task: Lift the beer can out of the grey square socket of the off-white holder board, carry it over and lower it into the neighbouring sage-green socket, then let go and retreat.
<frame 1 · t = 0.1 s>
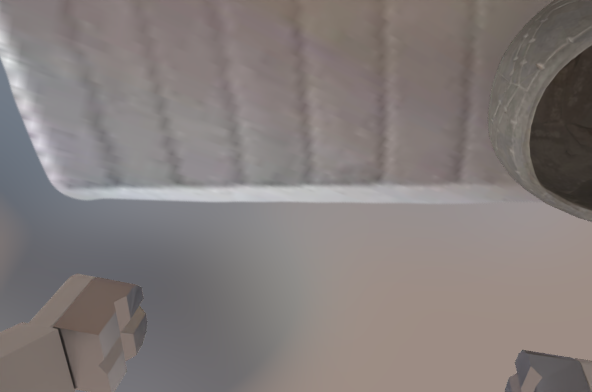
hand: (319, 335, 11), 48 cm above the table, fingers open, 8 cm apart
bowl: (584, 71, 52), on the table
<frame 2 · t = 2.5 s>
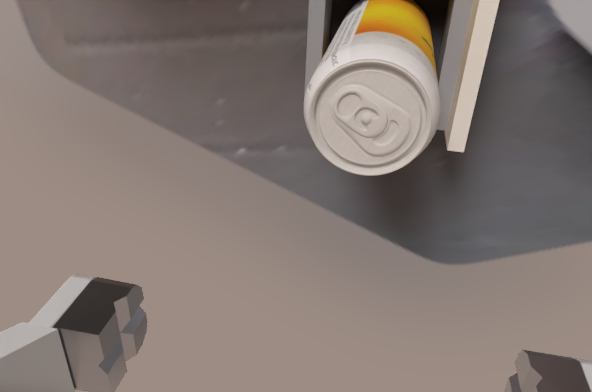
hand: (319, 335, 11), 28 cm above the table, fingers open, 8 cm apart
beer can: (384, 37, 34), resting in holder board
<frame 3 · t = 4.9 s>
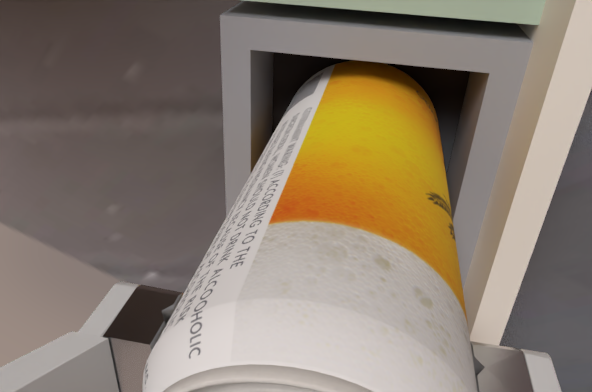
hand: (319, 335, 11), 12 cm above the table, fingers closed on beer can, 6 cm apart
beer can: (361, 126, 21), resting in holder board, touching gripper
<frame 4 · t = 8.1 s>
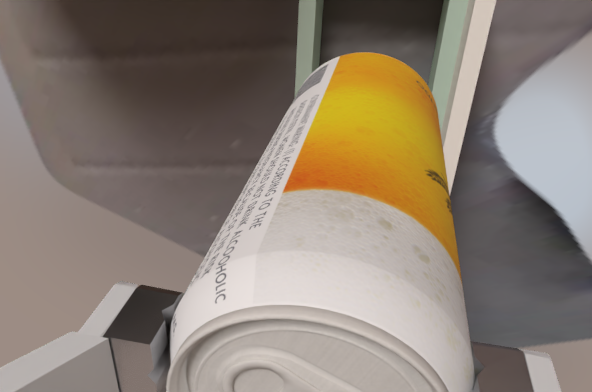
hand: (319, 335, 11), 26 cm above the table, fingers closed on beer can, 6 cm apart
holder board: (368, 114, 36), on the table
beer can: (364, 116, 22), point 13 cm above the table, touching gripper
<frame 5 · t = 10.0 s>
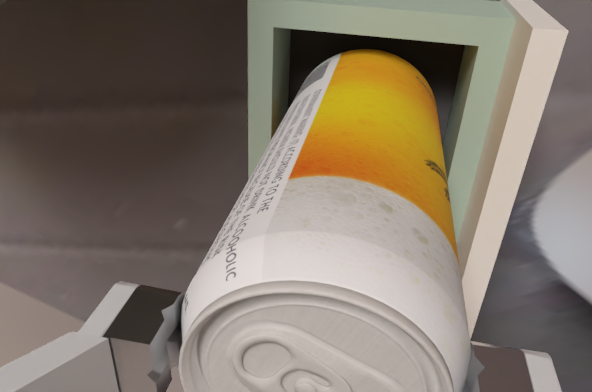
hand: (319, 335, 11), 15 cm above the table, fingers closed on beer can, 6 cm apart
holder board: (356, 193, 26), on the table
beer can: (365, 111, 22), point 1 cm above the table, touching gripper
when the fingers open (13 cm above the table, at t = 11.4 s): beer can stays where it is, resting in holder board.
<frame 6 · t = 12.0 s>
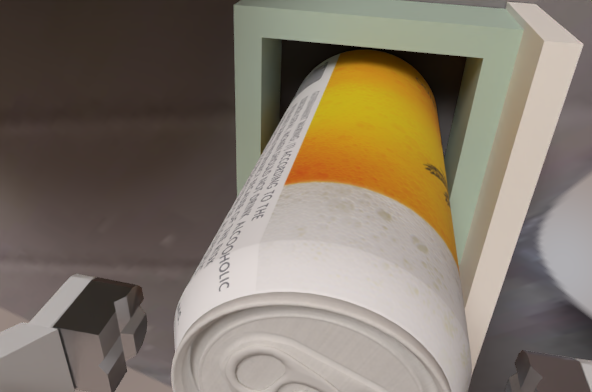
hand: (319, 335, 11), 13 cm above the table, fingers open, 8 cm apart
holder board: (352, 210, 25), on the table
beer can: (364, 113, 22), resting in holder board
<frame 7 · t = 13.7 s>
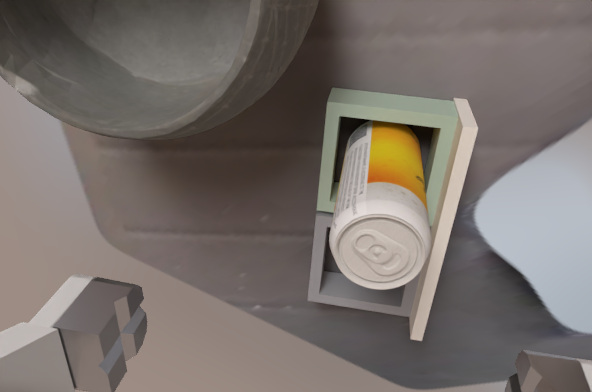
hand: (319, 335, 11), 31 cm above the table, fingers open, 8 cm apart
holder board: (374, 199, 45), on the table
beer can: (382, 148, 42), resting in holder board
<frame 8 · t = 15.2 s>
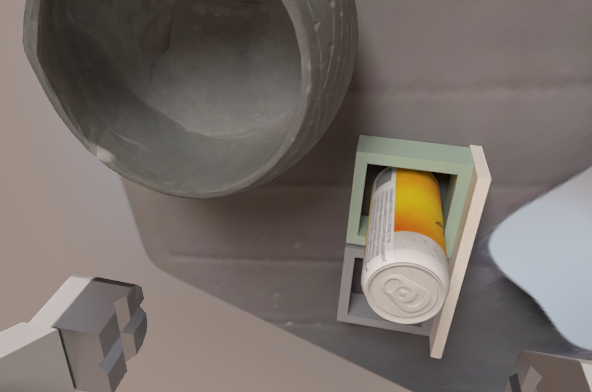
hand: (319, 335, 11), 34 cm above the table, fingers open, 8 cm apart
bowl: (237, 16, 42), on the table
holder board: (397, 231, 49), on the table
beer can: (405, 186, 47), resting in holder board
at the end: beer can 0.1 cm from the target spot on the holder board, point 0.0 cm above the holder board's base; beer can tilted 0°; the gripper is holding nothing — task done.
